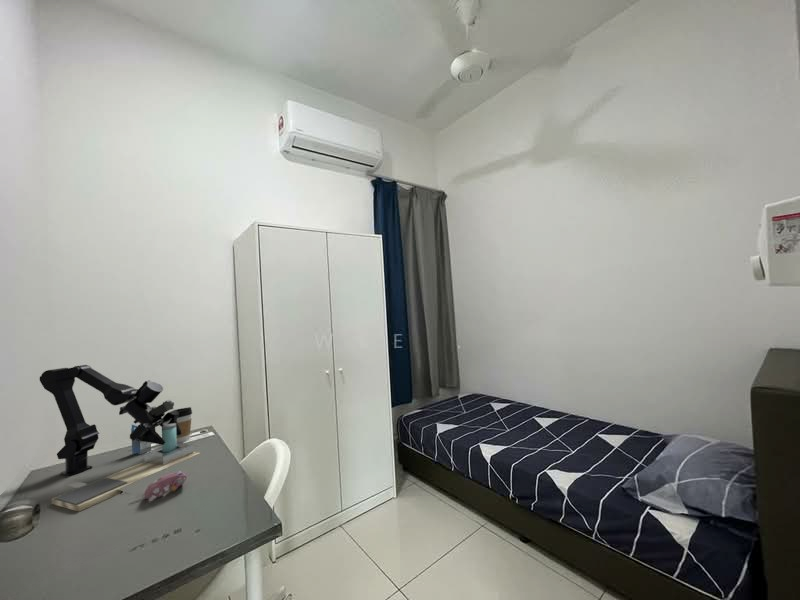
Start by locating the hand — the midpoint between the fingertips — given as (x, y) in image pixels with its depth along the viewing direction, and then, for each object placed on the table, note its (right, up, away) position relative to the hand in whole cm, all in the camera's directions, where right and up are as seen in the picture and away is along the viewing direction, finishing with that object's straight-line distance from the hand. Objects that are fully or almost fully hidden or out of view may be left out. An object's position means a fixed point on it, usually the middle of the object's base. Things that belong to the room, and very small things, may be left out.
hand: (172, 438), depth 116 cm
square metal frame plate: (-1, -7, -1) cm, 7 cm away
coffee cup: (-10, -10, +18) cm, 23 cm away
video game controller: (+16, -6, -24) cm, 30 cm away
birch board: (-4, -8, -12) cm, 15 cm away
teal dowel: (-1, -7, -1) cm, 7 cm away
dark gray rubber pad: (-8, -6, -22) cm, 25 cm away
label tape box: (-19, -11, +9) cm, 24 cm away
